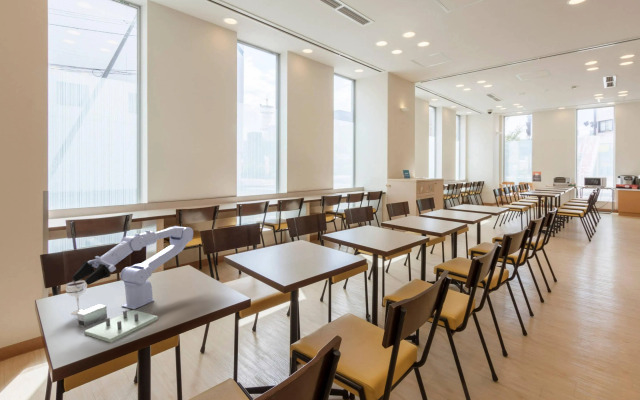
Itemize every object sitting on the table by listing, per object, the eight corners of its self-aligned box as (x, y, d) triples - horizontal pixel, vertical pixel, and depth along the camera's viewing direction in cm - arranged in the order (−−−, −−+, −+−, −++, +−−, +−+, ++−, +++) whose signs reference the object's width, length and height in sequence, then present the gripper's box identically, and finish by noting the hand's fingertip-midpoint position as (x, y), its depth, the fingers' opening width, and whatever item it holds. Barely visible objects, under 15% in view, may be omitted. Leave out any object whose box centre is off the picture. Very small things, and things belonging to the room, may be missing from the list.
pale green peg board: (132, 312, 130) (132, 303, 129) (157, 319, 124) (157, 309, 124) (84, 334, 113) (83, 323, 113) (110, 342, 108) (109, 331, 107)
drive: (100, 316, 127) (99, 304, 127) (107, 318, 126) (106, 305, 125) (78, 325, 120) (76, 312, 119) (84, 328, 118) (83, 314, 118)
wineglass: (82, 315, 128) (79, 285, 127) (63, 316, 128) (61, 286, 126) (92, 308, 135) (90, 279, 134) (75, 308, 134) (72, 280, 133)
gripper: (96, 246, 129) (62, 269, 119) (120, 251, 123) (86, 275, 113) (105, 260, 133) (72, 284, 122) (128, 265, 127) (96, 290, 116)
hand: (79, 281), depth 118 cm, fingers open, 7 cm apart
